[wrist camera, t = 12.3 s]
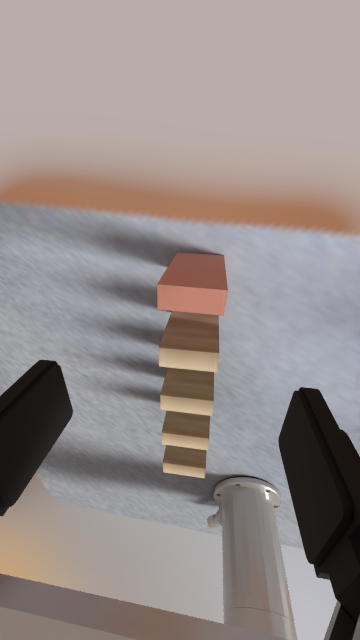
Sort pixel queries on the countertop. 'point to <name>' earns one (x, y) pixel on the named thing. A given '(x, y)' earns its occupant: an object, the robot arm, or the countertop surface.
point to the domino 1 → (194, 284)
